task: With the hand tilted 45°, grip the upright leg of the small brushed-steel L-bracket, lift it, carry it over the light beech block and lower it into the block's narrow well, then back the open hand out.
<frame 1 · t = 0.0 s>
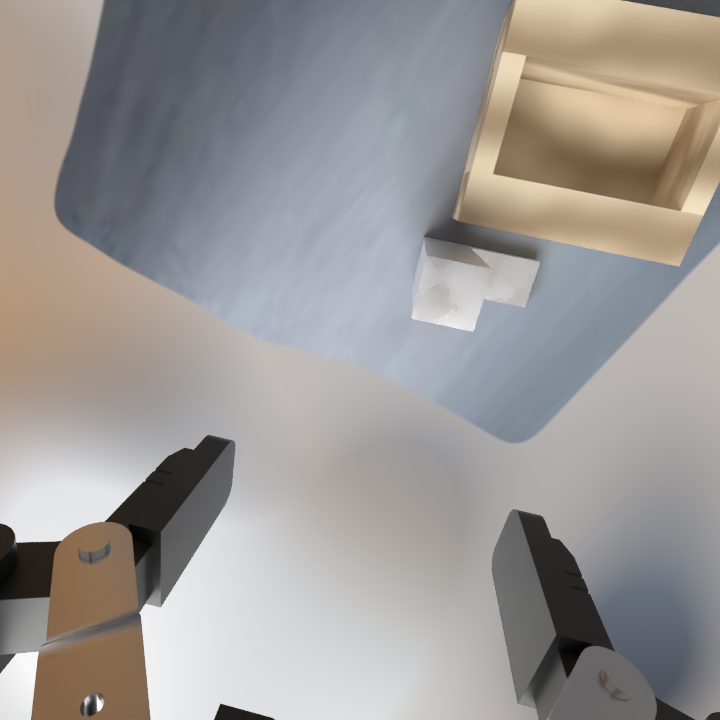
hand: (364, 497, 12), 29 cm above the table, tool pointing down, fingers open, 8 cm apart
beech well block: (574, 146, 33), on the table
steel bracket: (472, 270, 38), on the table
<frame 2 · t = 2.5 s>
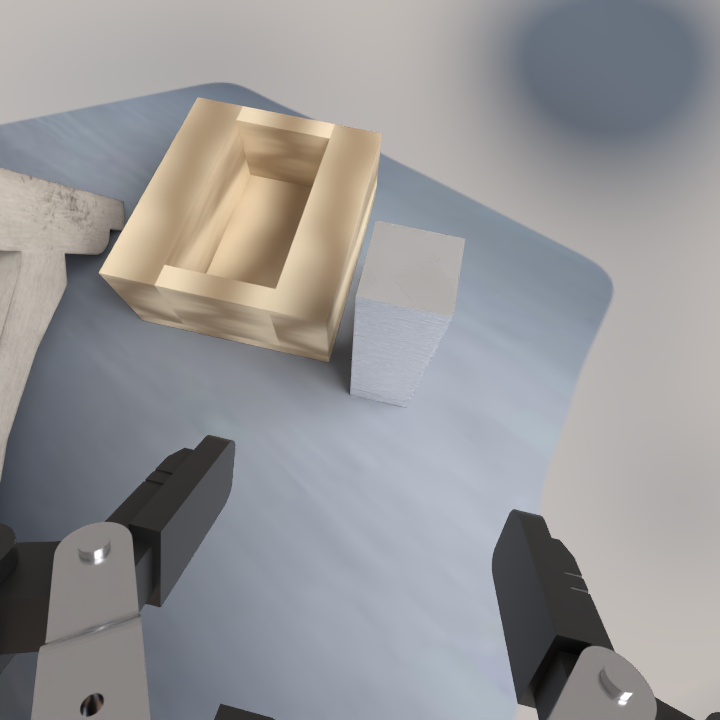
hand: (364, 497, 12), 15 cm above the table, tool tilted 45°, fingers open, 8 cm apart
wall bracket: (26, 437, 27), on the table
beech well block: (268, 252, 33), on the table
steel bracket: (392, 337, 31), on the table
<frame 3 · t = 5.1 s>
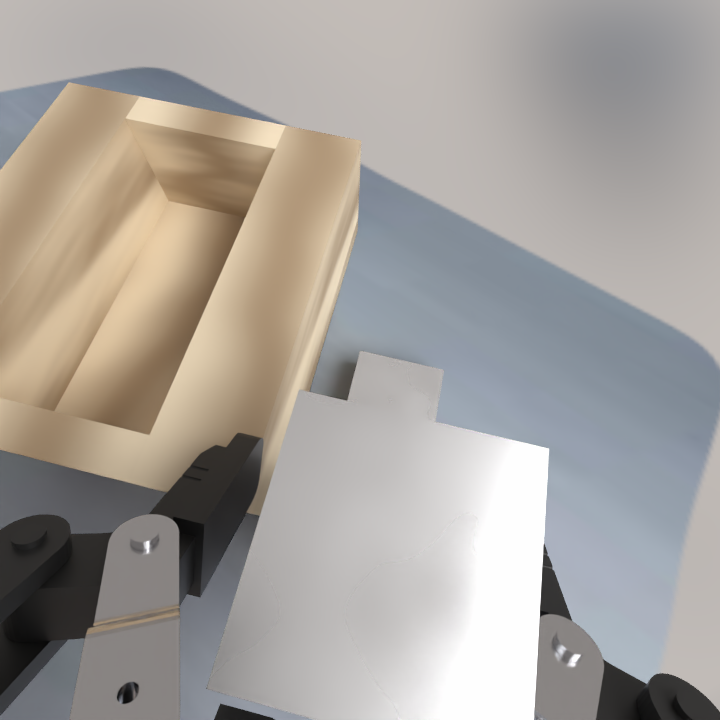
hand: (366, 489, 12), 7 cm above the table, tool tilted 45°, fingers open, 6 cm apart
beech well block: (189, 323, 21), on the table
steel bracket: (376, 471, 19), on the table
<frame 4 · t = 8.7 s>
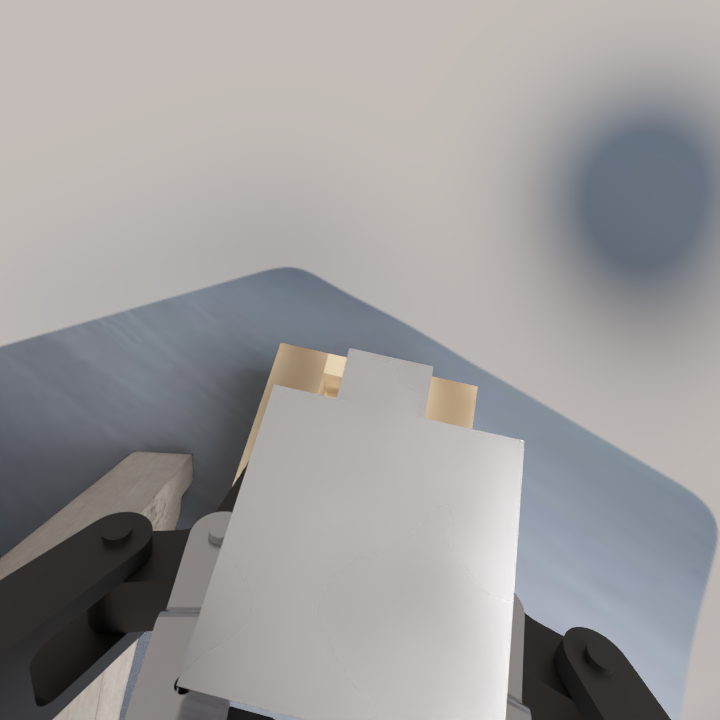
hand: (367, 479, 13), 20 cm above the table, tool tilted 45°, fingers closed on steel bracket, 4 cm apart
beech well block: (350, 490, 31), on the table
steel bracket: (366, 468, 19), point 13 cm above the table, touching gripper
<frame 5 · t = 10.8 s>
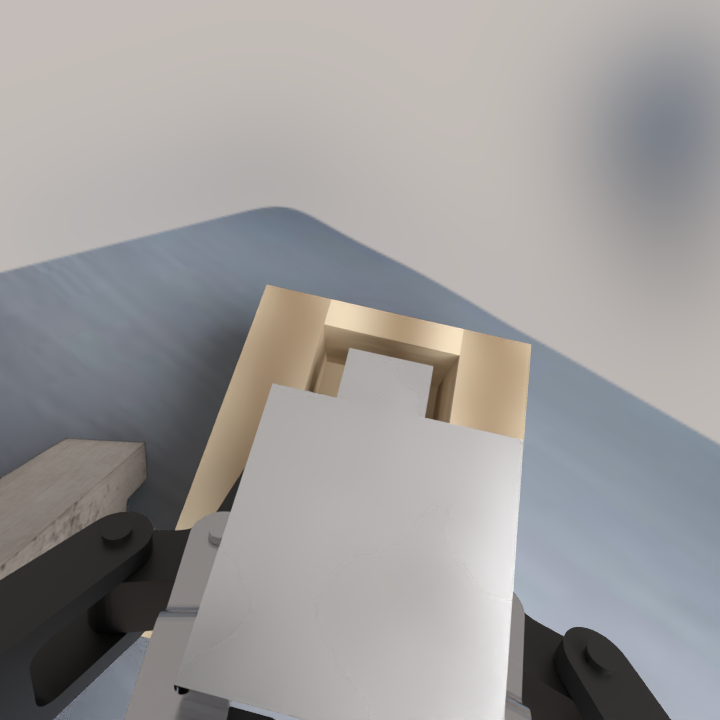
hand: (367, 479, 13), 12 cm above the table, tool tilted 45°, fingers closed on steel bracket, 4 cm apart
beech well block: (357, 482, 24), on the table
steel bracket: (366, 468, 19), point 6 cm above the table, touching gripper
when the fingers open (8 cm above the table, at t = 12.0 s): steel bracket drops 1 cm, resting on beech well block.
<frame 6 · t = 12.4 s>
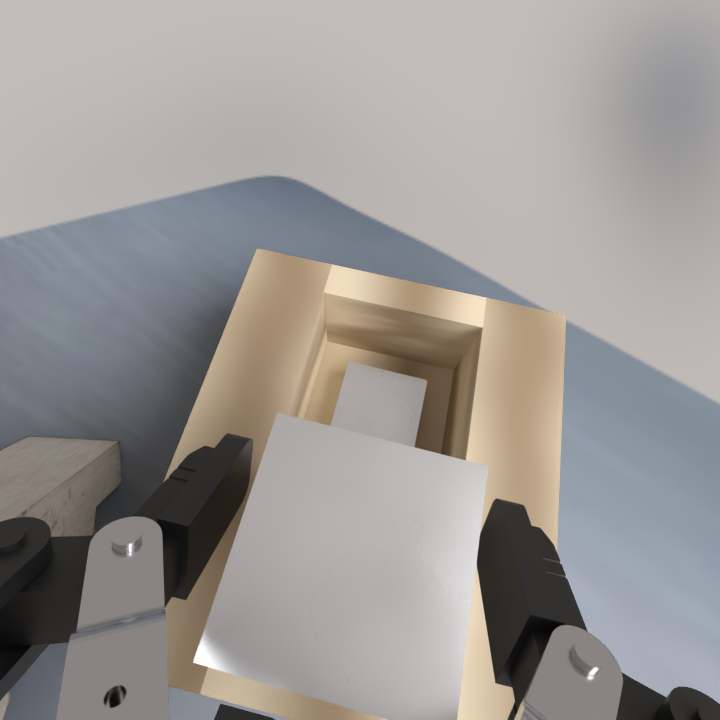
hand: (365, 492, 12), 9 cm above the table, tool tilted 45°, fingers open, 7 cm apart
beech well block: (362, 478, 21), on the table
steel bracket: (362, 475, 20), point 1 cm above the table, touching beech well block
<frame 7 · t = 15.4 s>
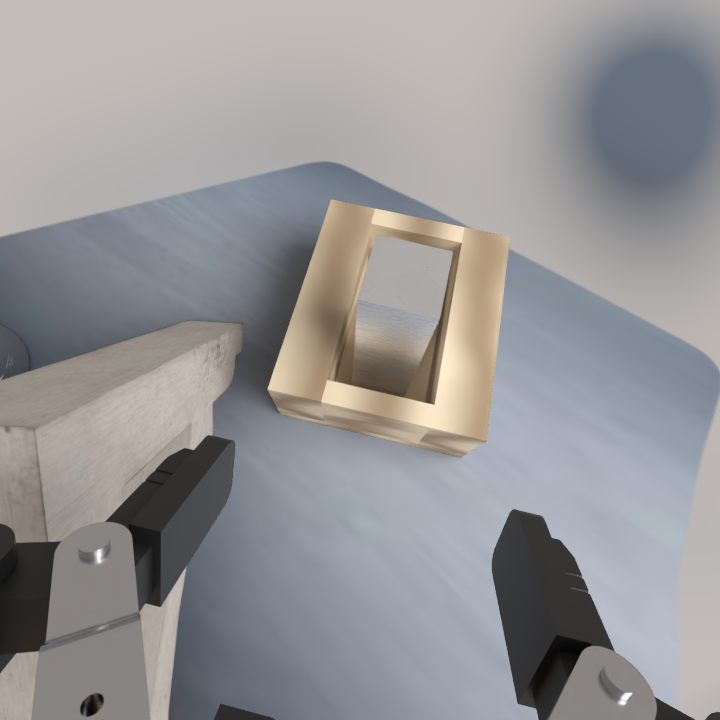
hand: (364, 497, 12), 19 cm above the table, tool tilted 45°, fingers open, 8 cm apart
wall bracket: (171, 581, 28), on the table
beech well block: (390, 342, 35), on the table
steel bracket: (391, 336, 34), point 1 cm above the table, touching beech well block
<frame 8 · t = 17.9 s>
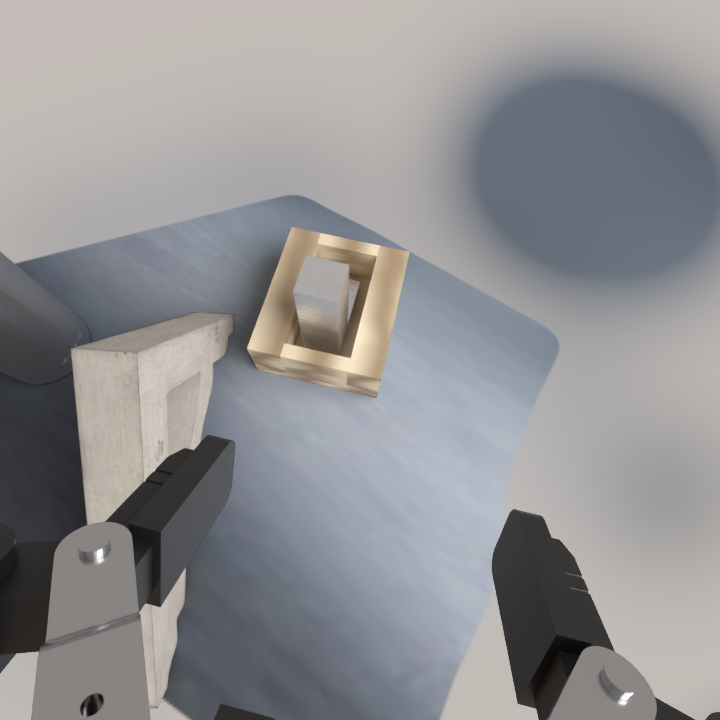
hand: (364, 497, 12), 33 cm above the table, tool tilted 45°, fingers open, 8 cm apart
wall bracket: (187, 477, 44), on the table
beech well block: (334, 323, 51), on the table
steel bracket: (333, 319, 50), point 1 cm above the table, touching beech well block
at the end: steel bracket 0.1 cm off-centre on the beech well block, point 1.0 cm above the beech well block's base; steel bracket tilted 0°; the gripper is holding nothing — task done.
